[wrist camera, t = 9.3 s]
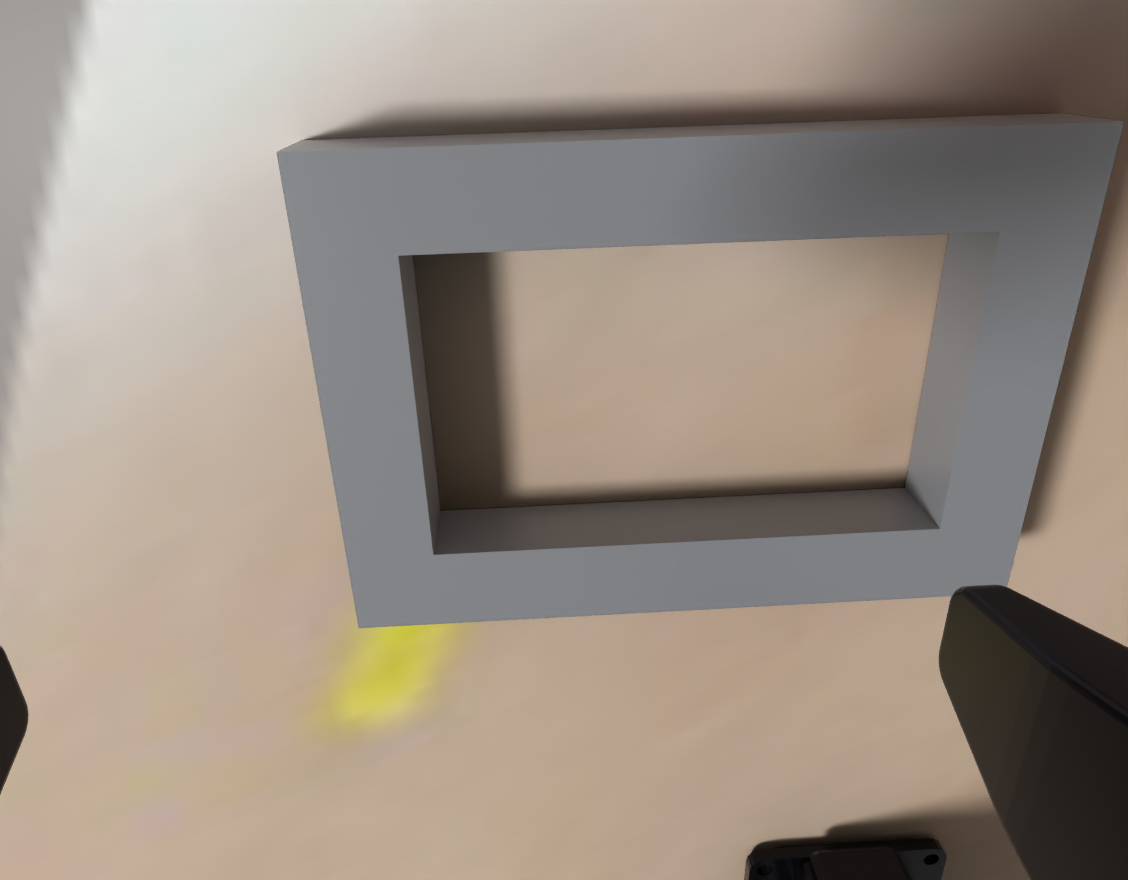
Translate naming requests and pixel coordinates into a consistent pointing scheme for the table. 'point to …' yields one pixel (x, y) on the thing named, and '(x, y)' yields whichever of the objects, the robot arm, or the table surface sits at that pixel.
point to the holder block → (694, 216)
